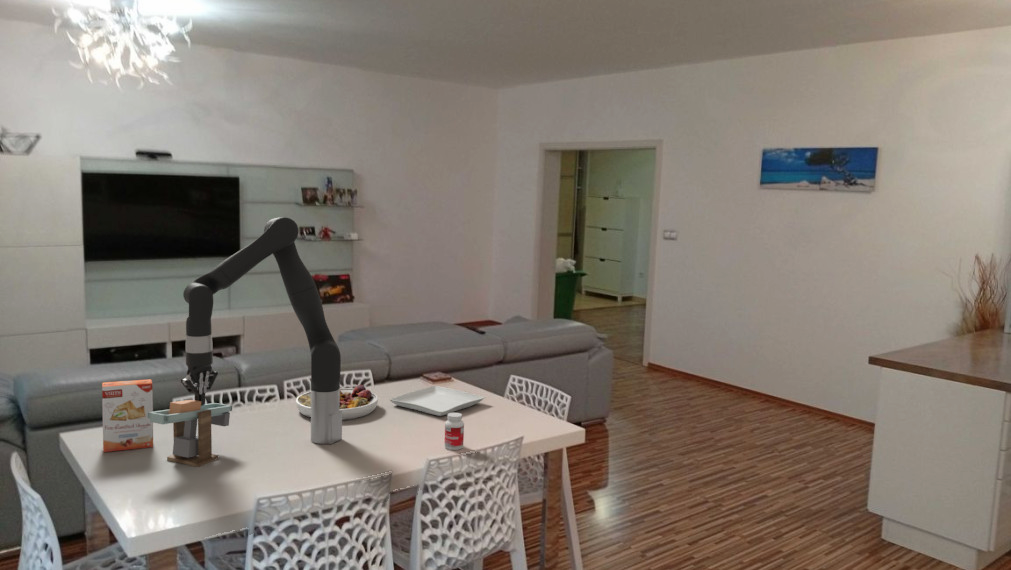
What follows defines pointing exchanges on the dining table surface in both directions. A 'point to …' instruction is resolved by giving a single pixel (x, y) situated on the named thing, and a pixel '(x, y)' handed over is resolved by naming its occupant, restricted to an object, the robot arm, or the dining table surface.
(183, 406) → the block
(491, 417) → the dining table surface
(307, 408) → the bowl
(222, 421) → the beam
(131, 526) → the dining table surface
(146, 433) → the cracker box
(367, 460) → the dining table surface
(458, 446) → the pill bottle
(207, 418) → the pivot stand
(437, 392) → the square plate
